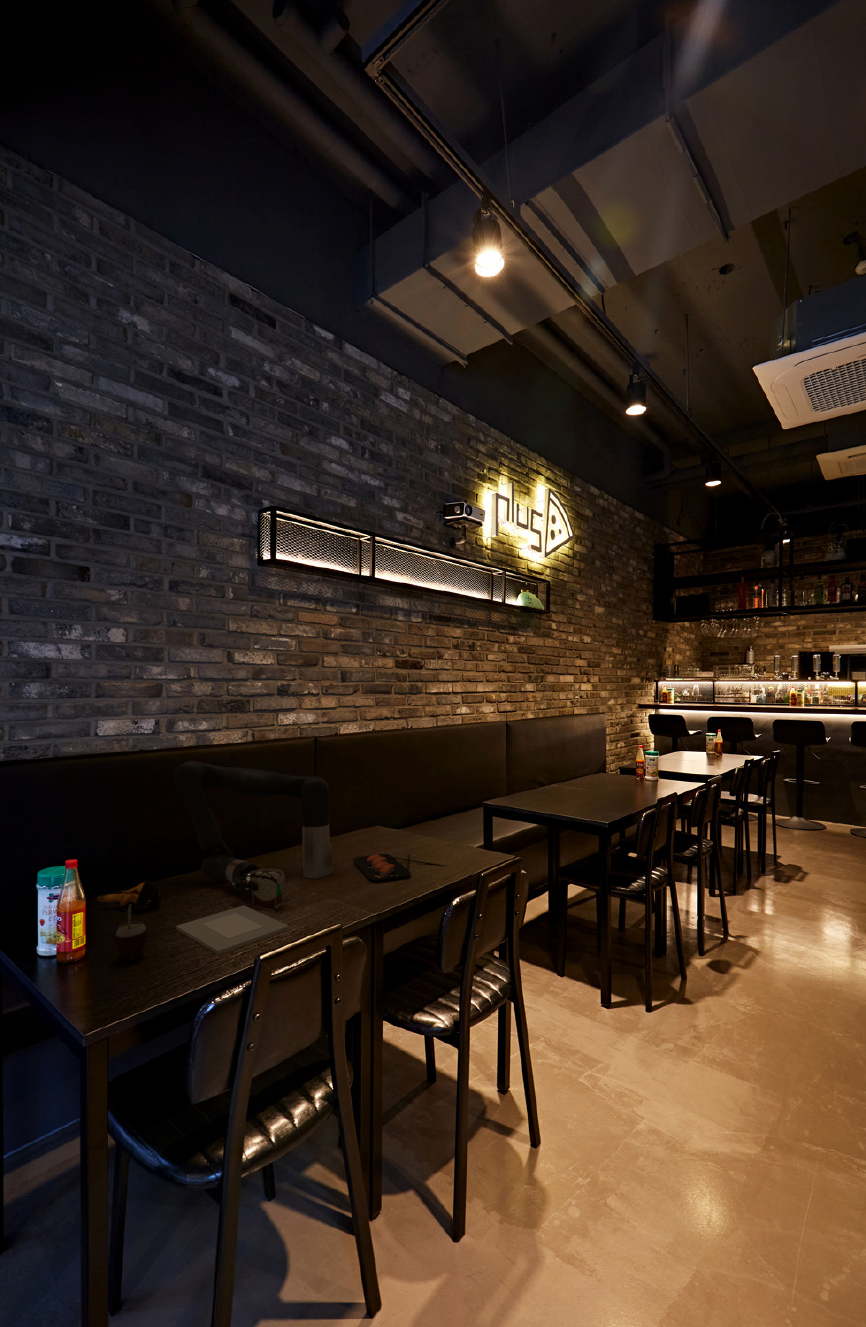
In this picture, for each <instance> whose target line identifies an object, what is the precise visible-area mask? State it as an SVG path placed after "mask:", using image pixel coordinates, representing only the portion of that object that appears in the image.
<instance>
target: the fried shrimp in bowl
mask: <svg viewBox="0 0 866 1327" xmlns="http://www.w3.org/2000/svg"><path fill="white" fill-rule="evenodd" d="M162 896H163V892H162V891H161V890H160V889H159V887H158V886H157V884H154V883H153V882H151V881H149V879H146V880H145V881H144V882H141V883H139V884H138V885H137V886H133V887H132V888H130V889H128V890H124V891H121V893H114V894H105V895H100V896H98V897H97V898H96V900H97V902H102V903H115V902H119V906H120V909H121V910H123V911H126V912H128V908H129V904H132V905H131V911H135V912H136V911H145V910H146V911H147V910H149V909H151V908H153V907H158V906H159V905H160V903H161V902H162Z"/></svg>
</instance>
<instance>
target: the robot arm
mask: <svg viewBox="0 0 866 1327" xmlns="http://www.w3.org/2000/svg"><path fill="white" fill-rule="evenodd" d="M173 781H174V784H175V785H176V788H177V789H178V791H179V793H180V795H181V797H182V798H183V801H184V803H185V806H186V807H187V810H188V813H189V815H190V818H191V821H192V823H193V826H194V829H195V834H196V836H197V839H198V842H199V845H200V848H201V849H202V850H204V851H209V850H213V849H215V850H217V852H216V853H214V854H212V855H210V856H208V857H206V858H205V859H204V860H203V861H202V862H201V866H200V868H201V872H202V874H203V875H204V876H205V877H206V878H208V879H209V880H213V881H214V880H215V881H216V880H218V881H220V880H222V881H223V880H224V881H225V880H226V881H228V882H230V883H231V886H232V888H234V889H235V890H238V892H239V891H240V892H242V891H244V889H245V890H247V891H249V890H250V891H251V892H252V891H258V885H257V883H255V882H252V881H251V878H250V872H251V871H255V870H260V868H259V866H258V865H256V864H255V863H251V862H249V861H246V860H242V859H238V858H235V857H234V855H233V854H232V852H231V850H230V848H229V847H228V845H227V844H226V843H225V841H224V840H223V839H224V838H222V834H221V831H220V829H219V825H218V823H217V820H216V817H215V815H214V813H213V812H212V810H211V808H210V806H209V805H208V804H209V803H208V801H207V800H206V796H205V794H204V790H203V788H205V787H206V788H216V789H221V790H225V791H228V792H230V793H234V794H235V795H239V796H245V797H250V798H251V797H253V798H278V797H280V798H281V797H288V798H296V799H299V800H300V807H301V808H300V810H301V824H302V825H301V828H302V829H301V830H302V831H301V832H302V868H303V869H302V873H303V875H302V876H303V878H305V879H321V878H322V879H323V878H326V877H328V876H330V875H331V874H333V873H334V870H333V869H334V868H333V864H334V863H333V845H332V844H331V843H330V842H331V839H330V808H329V807H330V806H329V801H330V800H329V796H330V795H329V790H330V788H329V784H328V782H327V781H326V780H325V779H324V778H323V777H320V776H303V775H302V776H301V775H300V776H299V775H288V774H283V773H279V772H275V771H268V770H262V769H255V768H245V767H229V766H227V767H225V766H219V765H213V764H209V763H205V762H202V761H199V760H188V761H186V762H184V763H182V764H179V766H178V767H176V769H175V770H174V773H173ZM269 869H273V867H271V868H269Z"/></svg>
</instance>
